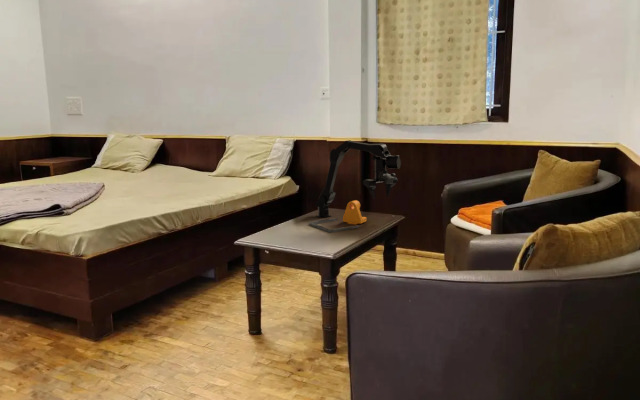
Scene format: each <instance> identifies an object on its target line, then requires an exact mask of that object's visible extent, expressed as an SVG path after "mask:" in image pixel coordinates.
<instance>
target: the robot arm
mask: <svg viewBox="0 0 640 400" xmlns="http://www.w3.org/2000/svg"><path fill="white" fill-rule="evenodd" d="M350 149H352V150H357V151H363V152H368V153H370V154H372V155H373V156H372V157H371V158H370V160H374V169H373V172H374V177H373V179H364V180H363V186H365V187H366V188H367V189H368V191H369V194H370V196H371V197H372V199H373V200H375V198H376V188H377V186H376V185H377V184H384V185H385V194H386V197H387V198H388V197H390V194H391V191H392V189H393V187H394V186H395V185H396V184H397V183H398V181H399V180H398V178H397V175H396V173H395V172H393V173H389V171H388V169H389V170H390V169H395V170H396V169H398V170H399V169H401V165H402V161H401V158H400V155H398V154H397V155H392V154H391V153H390V151H389V150H388V146H387V145H386V144H385V143H367V142H360V141H353V140H345V141H344V142H343V143H342V144H340V145H339V146H337V147H336V148H333V149H331V150H330V152H329V163H330V164H329V168H328V172H327V177H326V180H325V185H324V188H323V189H322V191H321V192H320V194H319V197H318V200H316V202H315V203H314V205H315V207H316V208H317V212H318V213H317V214H316V215H315V217H318V218H320V219H322V218H329V217H332V215H330V211H329V209H330V208H329V206H331V203H332V202H333V201H334V200H335V196H336V191H335V192H334V186H335V182H336V177H337V175H338V174H337V173H338V170H339V166H340V164H341V162H342V161H343V159H344V157H345V154H346V153H347V152H349V150H350Z"/></svg>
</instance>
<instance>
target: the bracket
mask: <svg viewBox="0 0 640 400" xmlns="http://www.w3.org/2000/svg"><path fill="white" fill-rule="evenodd" d="M360 208H361V203H360V201H359V200H357V199H355V200H351V201H349V202H348V203H347V205H346V207H345V212H344V214H343V217H342V222H345V223H346V224H350V225H360V224H363V223H366V222H367V217H366V216H362V214H361V213H362V212H361V210H360Z"/></svg>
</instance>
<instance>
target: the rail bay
mask: <svg viewBox="0 0 640 400" xmlns="http://www.w3.org/2000/svg"><path fill="white" fill-rule="evenodd" d="M336 221H339V220H338V218H337V217H333V218H328V219H323V220H322V219H321V220H316V221H309V222H308V225H309V226H311V227H314V228H317V229H319V230H322V231H324V232H327V233H330V234H331V233H337V232H342V231H347V230H352V229H353V230H354V229H359V228H360V224H357V225H356V224H354V225H350V226H345V227H343V226H342V227H339V228H334V229H333V228H332V229H330V228H327V227H325V226H322V225H319V224H323V223H330V222H331V223H332V222H336Z"/></svg>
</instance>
